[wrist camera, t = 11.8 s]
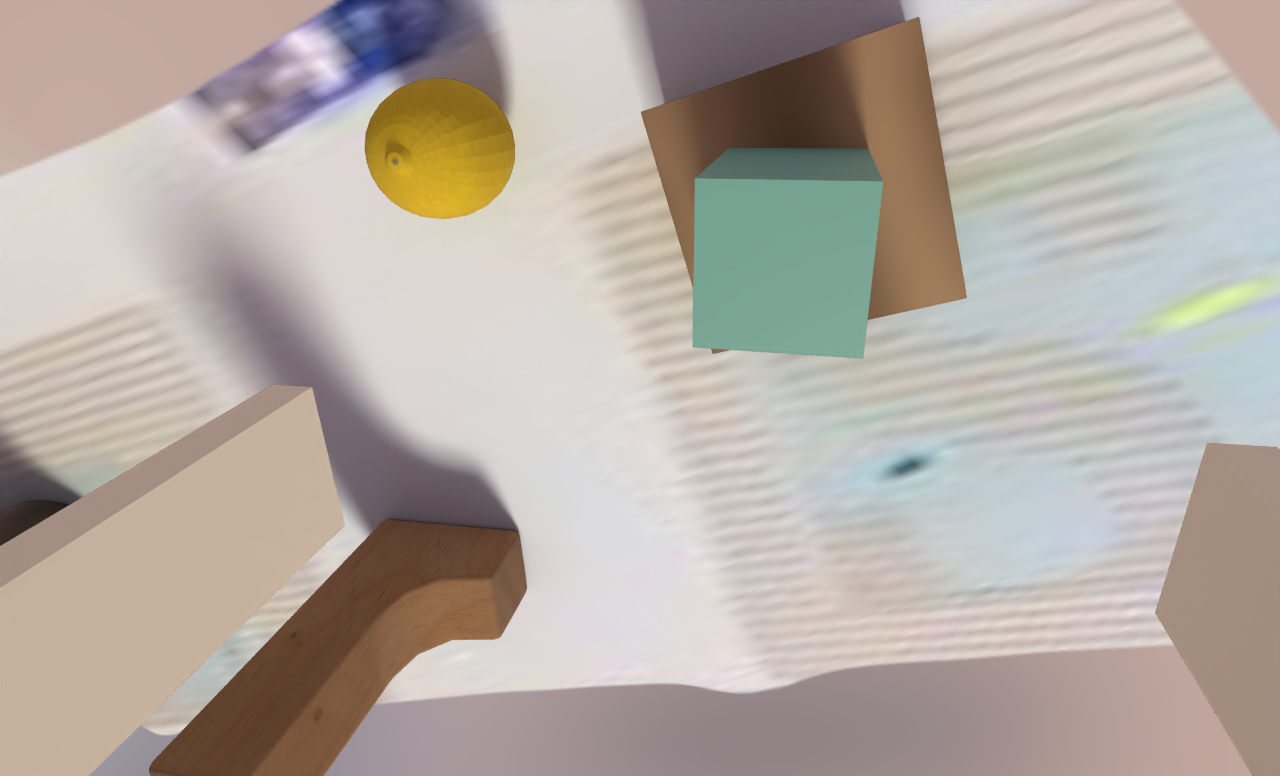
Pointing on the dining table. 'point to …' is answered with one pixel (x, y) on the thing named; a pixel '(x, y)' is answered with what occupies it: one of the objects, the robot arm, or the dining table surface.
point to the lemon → (440, 148)
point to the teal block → (785, 250)
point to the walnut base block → (839, 119)
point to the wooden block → (352, 649)
